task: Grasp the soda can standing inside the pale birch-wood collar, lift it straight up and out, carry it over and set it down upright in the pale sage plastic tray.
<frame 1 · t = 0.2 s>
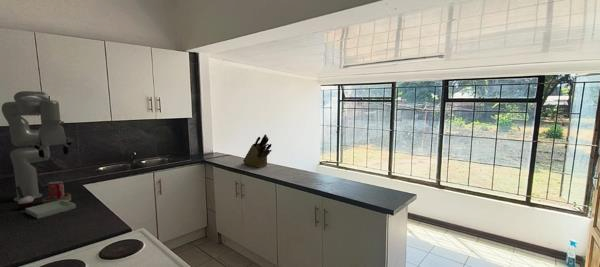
hand: (54, 155, 142), 31 cm above the countertop, tool pointing down, fingers open, 9 cm apart
tray: (51, 210, 146), on the countertop
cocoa: (26, 208, 151), on the countertop
can holder: (57, 201, 160), on the countertop
soda can: (57, 202, 160), resting in can holder
knife block: (257, 165, 257), on the countertop
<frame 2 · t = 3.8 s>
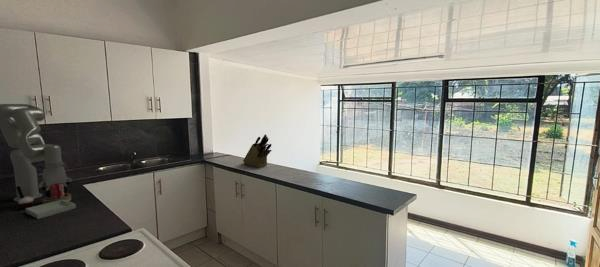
hand: (56, 194, 160), 4 cm above the countertop, tool pointing down, fingers closed on soda can, 6 cm apart
soda can: (57, 202, 160), resting in can holder, touching gripper
everything else where it was.
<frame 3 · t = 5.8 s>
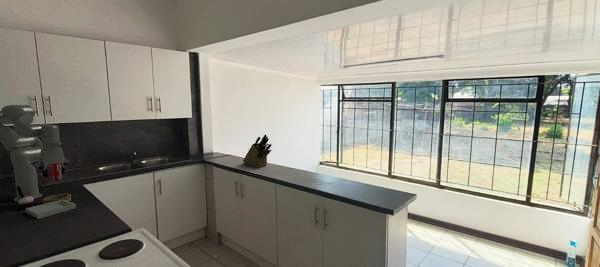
hand: (54, 175, 159), 16 cm above the countertop, tool pointing down, fingers closed on soda can, 6 cm apart
soda can: (54, 182, 159), point 12 cm above the countertop, touching gripper
everything else where it was.
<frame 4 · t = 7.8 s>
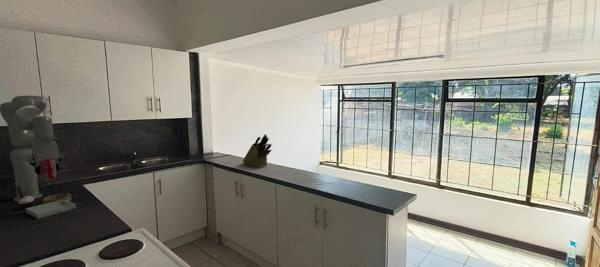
hand: (47, 172, 144), 22 cm above the countertop, tool pointing down, fingers closed on soda can, 6 cm apart
soda can: (48, 180, 145), point 17 cm above the countertop, touching gripper
everything else where it was.
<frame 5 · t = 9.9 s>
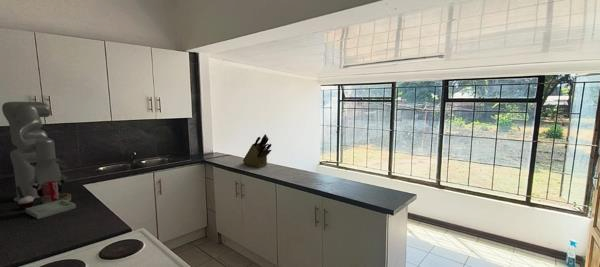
hand: (49, 194, 145), 9 cm above the countertop, tool pointing down, fingers closed on soda can, 6 cm apart
soda can: (50, 202, 146), point 5 cm above the countertop, touching gripper
everything else where it was.
when the fingers open (6 cm above the countertop, at t = 11.6 s): soda can drops 1 cm, resting on tray.
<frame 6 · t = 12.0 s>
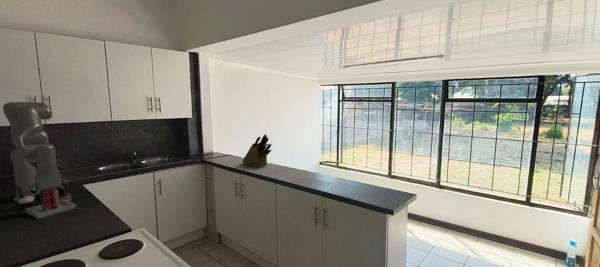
hand: (50, 198, 146), 7 cm above the countertop, tool pointing down, fingers open, 9 cm apart
soda can: (50, 210, 146), resting on tray
everything else where it was.
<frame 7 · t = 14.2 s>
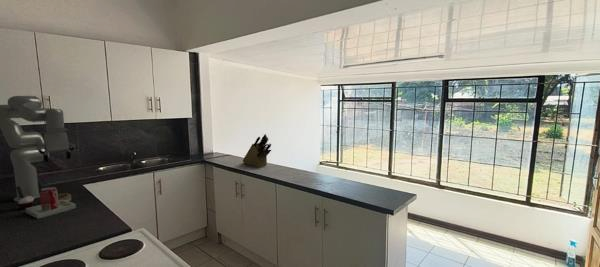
hand: (57, 160, 154), 26 cm above the countertop, tool pointing down, fingers open, 9 cm apart
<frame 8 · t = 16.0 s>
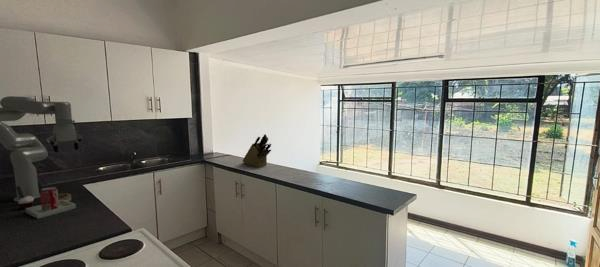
hand: (66, 150, 161), 30 cm above the countertop, tool pointing down, fingers open, 9 cm apart
at the end: soda can inside the target area on the tray (0.2 cm from its centre), point 0.4 cm above the tray's base; soda can tilted 0°; the gripper is holding nothing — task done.
